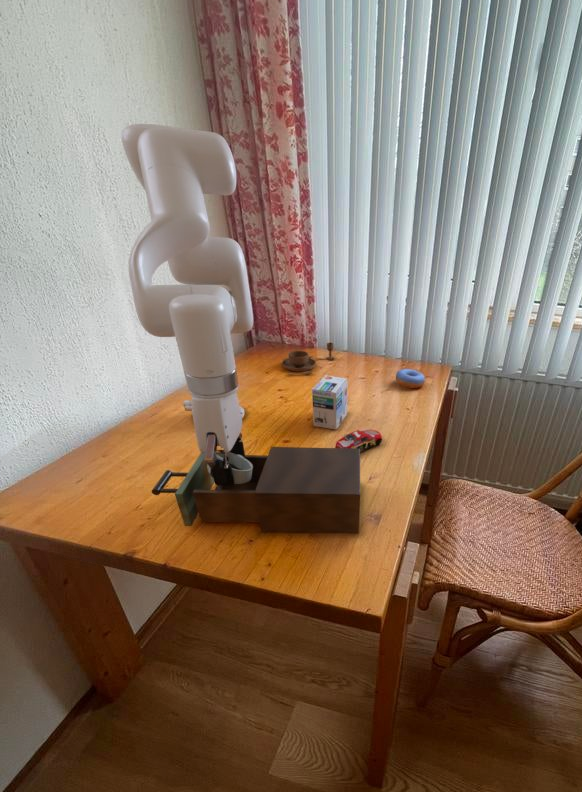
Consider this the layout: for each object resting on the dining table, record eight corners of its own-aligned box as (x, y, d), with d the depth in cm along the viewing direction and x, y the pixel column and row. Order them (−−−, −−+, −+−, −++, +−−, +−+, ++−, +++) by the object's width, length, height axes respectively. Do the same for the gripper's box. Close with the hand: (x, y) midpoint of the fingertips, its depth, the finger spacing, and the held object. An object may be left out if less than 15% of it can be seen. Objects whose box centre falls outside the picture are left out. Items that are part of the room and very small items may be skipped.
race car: (372, 434, 102) (372, 421, 99) (386, 443, 98) (387, 429, 96) (331, 450, 94) (331, 436, 92) (345, 460, 91) (345, 445, 88)
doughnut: (426, 381, 134) (427, 369, 132) (421, 392, 126) (422, 379, 124) (398, 377, 136) (399, 364, 133) (392, 388, 128) (393, 374, 125)
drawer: (149, 526, 68) (136, 493, 64) (179, 480, 79) (169, 450, 75) (279, 526, 70) (274, 495, 66) (290, 481, 81) (287, 452, 77)
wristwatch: (200, 474, 70) (194, 451, 68) (227, 459, 75) (223, 436, 72) (236, 491, 67) (231, 468, 64) (262, 474, 72) (259, 451, 69)
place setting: (280, 359, 144) (278, 343, 141) (333, 357, 149) (332, 341, 146) (284, 376, 130) (283, 359, 127) (342, 373, 136) (342, 357, 132)
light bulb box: (336, 430, 102) (336, 392, 96) (312, 426, 103) (310, 389, 97) (348, 413, 111) (348, 377, 105) (325, 409, 112) (324, 374, 106)
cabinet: (260, 532, 70) (254, 492, 64) (275, 483, 82) (271, 446, 77) (359, 533, 71) (360, 494, 66) (359, 484, 83) (360, 448, 78)
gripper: (206, 360, 68) (224, 446, 78) (165, 403, 53) (193, 501, 63) (249, 362, 68) (262, 447, 78) (220, 405, 54) (240, 502, 64)
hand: (231, 470), depth 71 cm, fingers closed on wristwatch, 7 cm apart
